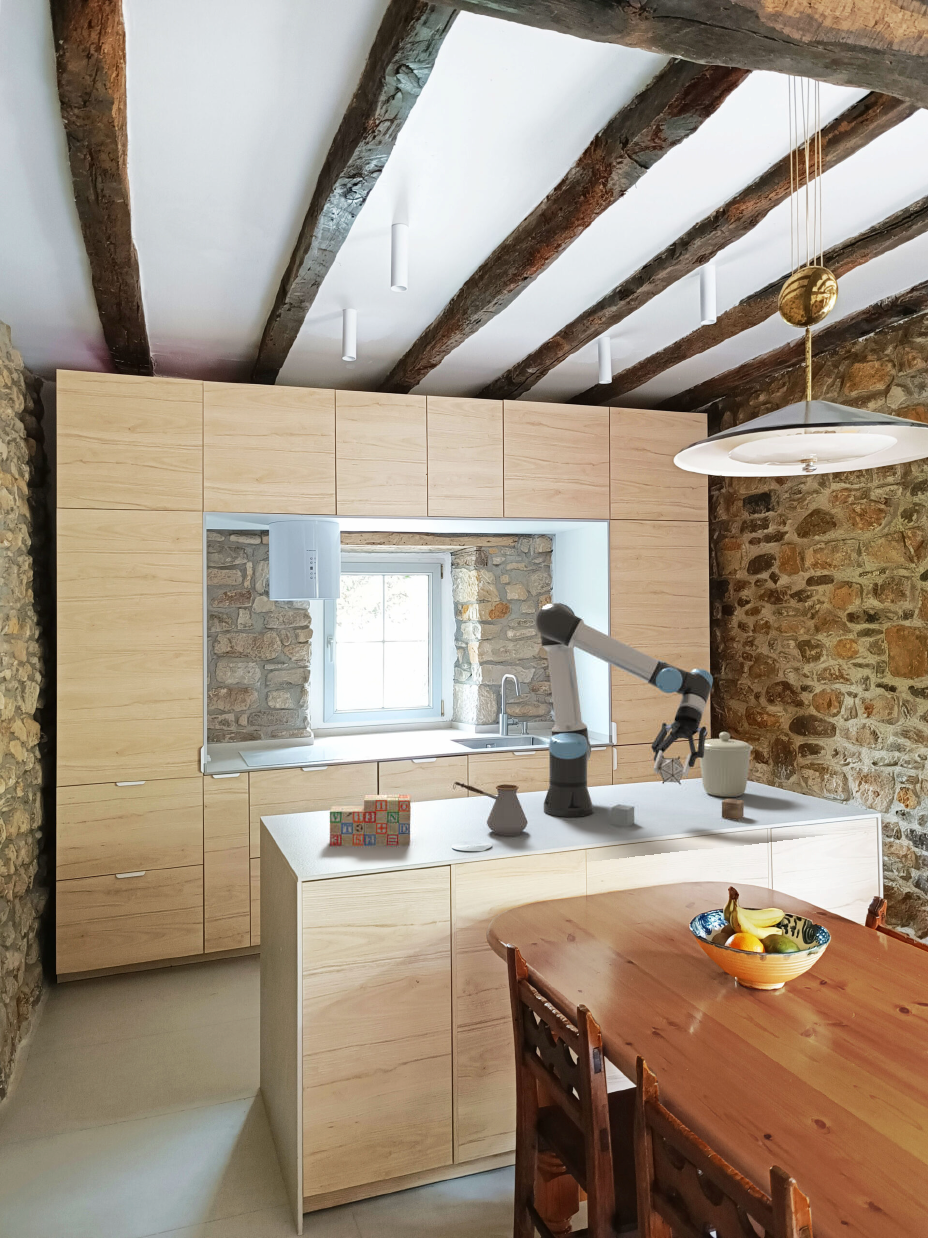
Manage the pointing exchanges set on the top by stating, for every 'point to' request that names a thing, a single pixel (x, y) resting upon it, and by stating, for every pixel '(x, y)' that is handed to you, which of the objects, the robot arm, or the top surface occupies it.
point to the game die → (671, 770)
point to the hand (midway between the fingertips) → (669, 772)
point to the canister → (725, 766)
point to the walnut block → (733, 809)
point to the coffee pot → (504, 810)
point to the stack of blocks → (372, 822)
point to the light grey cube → (622, 815)
